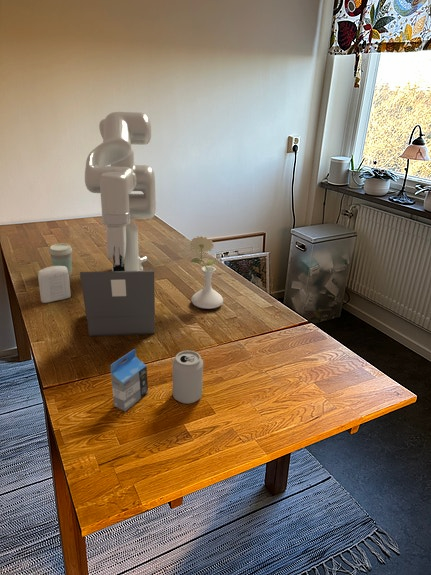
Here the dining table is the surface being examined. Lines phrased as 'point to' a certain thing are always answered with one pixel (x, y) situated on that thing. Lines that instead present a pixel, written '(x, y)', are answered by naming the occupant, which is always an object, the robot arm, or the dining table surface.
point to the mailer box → (121, 325)
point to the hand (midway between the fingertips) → (119, 277)
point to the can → (187, 377)
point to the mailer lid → (118, 293)
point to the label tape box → (128, 381)
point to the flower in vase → (207, 295)
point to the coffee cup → (61, 255)
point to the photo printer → (54, 283)
